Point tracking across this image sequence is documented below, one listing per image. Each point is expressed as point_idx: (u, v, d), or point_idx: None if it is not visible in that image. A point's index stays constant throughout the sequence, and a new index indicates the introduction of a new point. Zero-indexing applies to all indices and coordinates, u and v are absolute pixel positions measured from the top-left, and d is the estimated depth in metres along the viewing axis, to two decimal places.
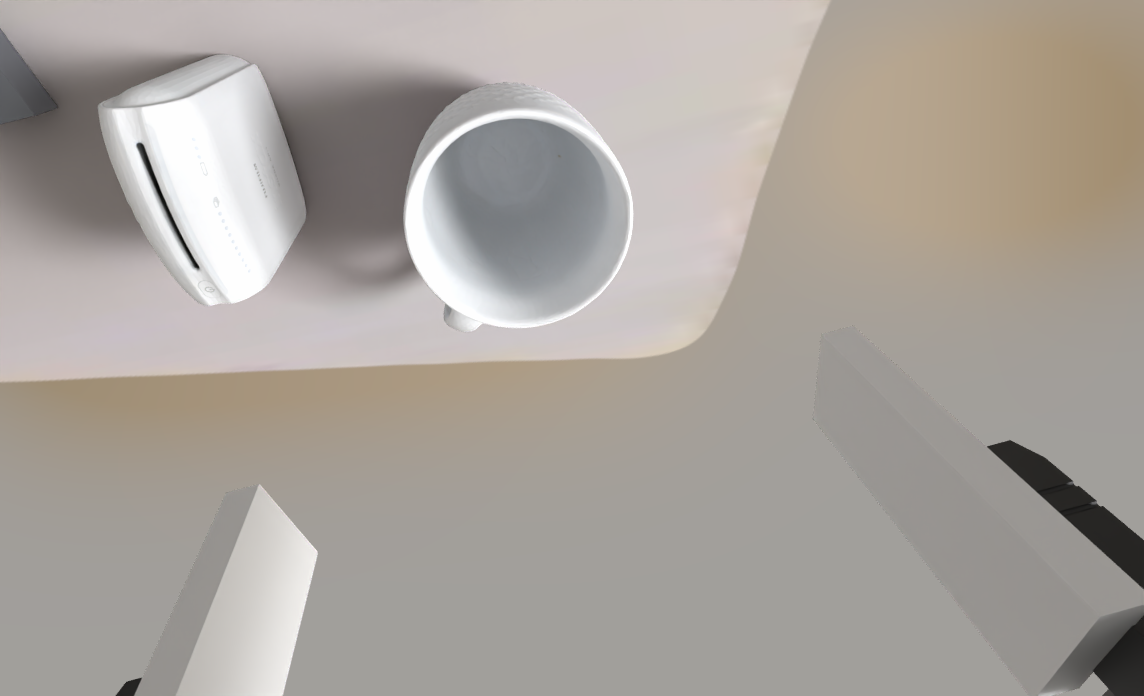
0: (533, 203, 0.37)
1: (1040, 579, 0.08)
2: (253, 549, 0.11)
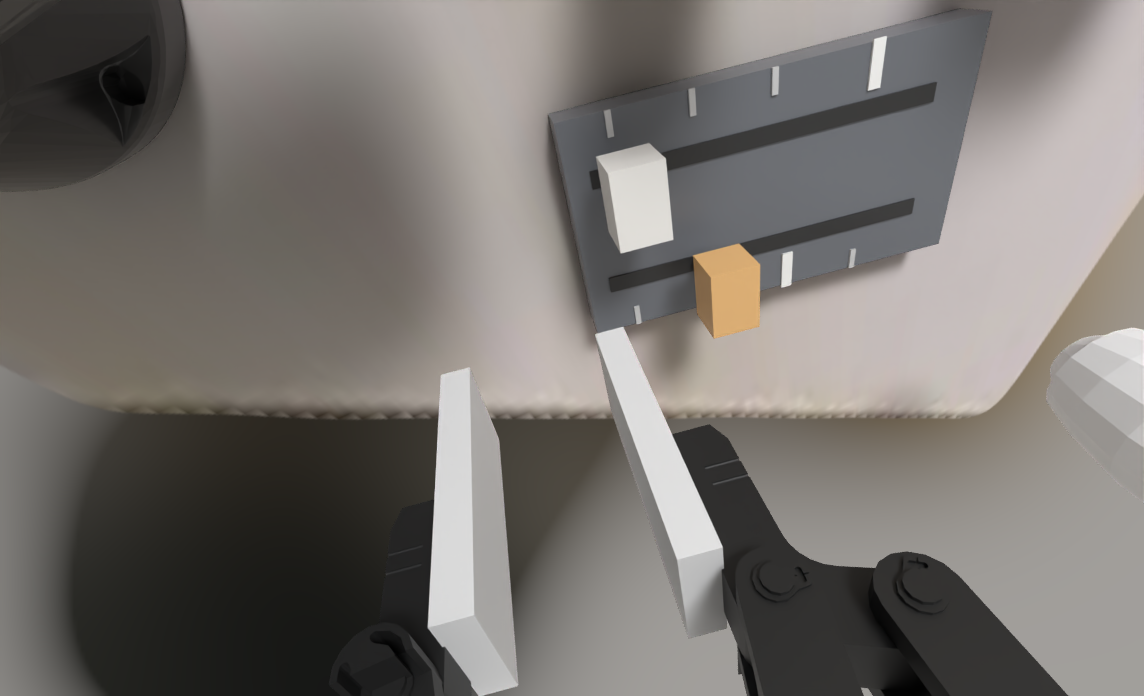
0: None
1: (665, 534, 0.09)
2: (476, 416, 0.13)
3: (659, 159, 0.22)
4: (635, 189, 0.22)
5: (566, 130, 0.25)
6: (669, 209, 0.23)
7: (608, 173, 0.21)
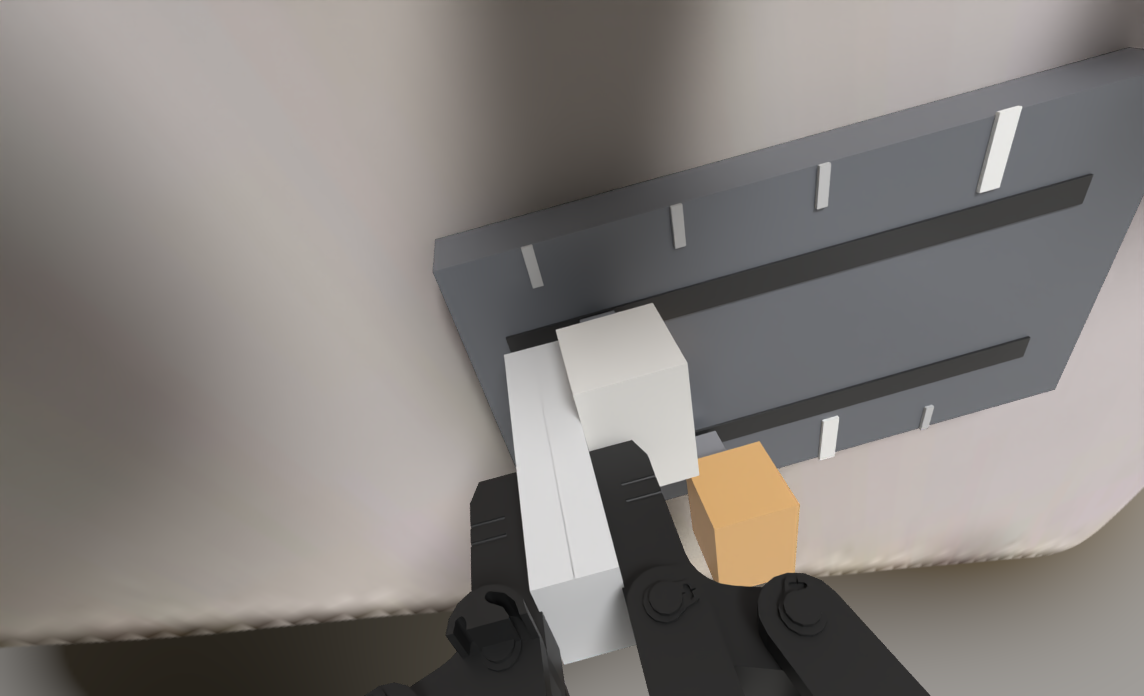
0: None
1: None
2: None
3: (674, 363, 0.11)
4: (627, 413, 0.11)
5: (457, 280, 0.14)
6: (693, 436, 0.12)
7: (573, 395, 0.11)
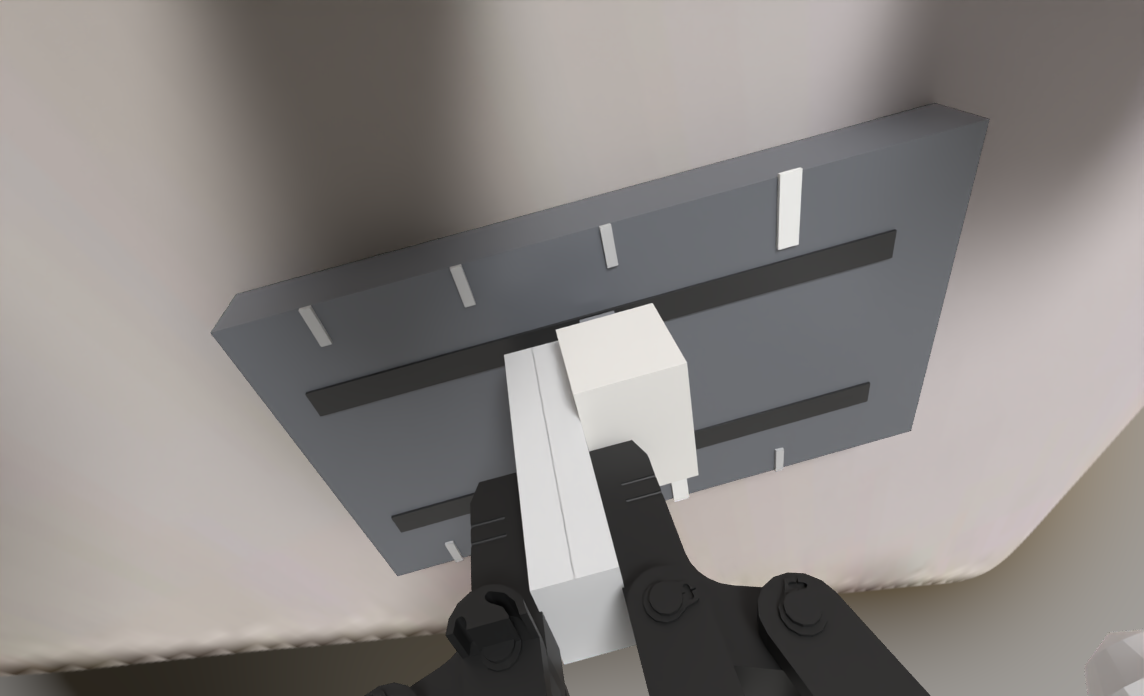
0: None
1: None
2: None
3: (674, 363, 0.11)
4: (627, 412, 0.11)
5: (239, 340, 0.14)
6: (693, 436, 0.12)
7: (573, 395, 0.11)
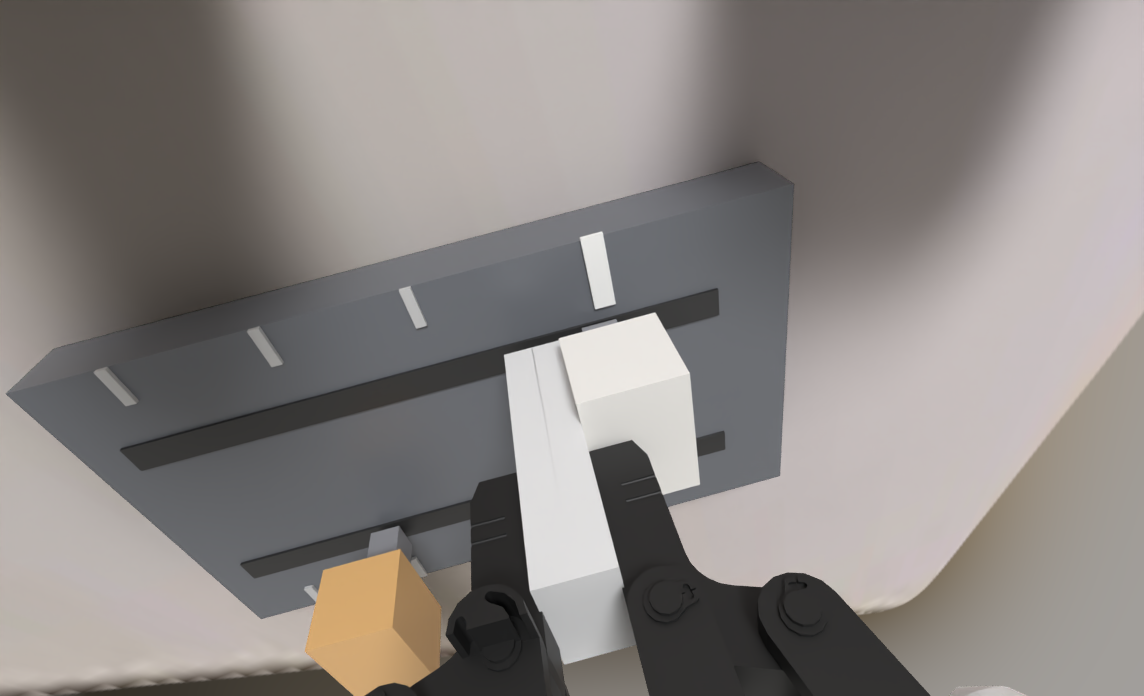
0: None
1: None
2: None
3: (677, 374, 0.11)
4: (629, 422, 0.11)
5: (38, 400, 0.14)
6: (694, 446, 0.12)
7: (576, 405, 0.11)
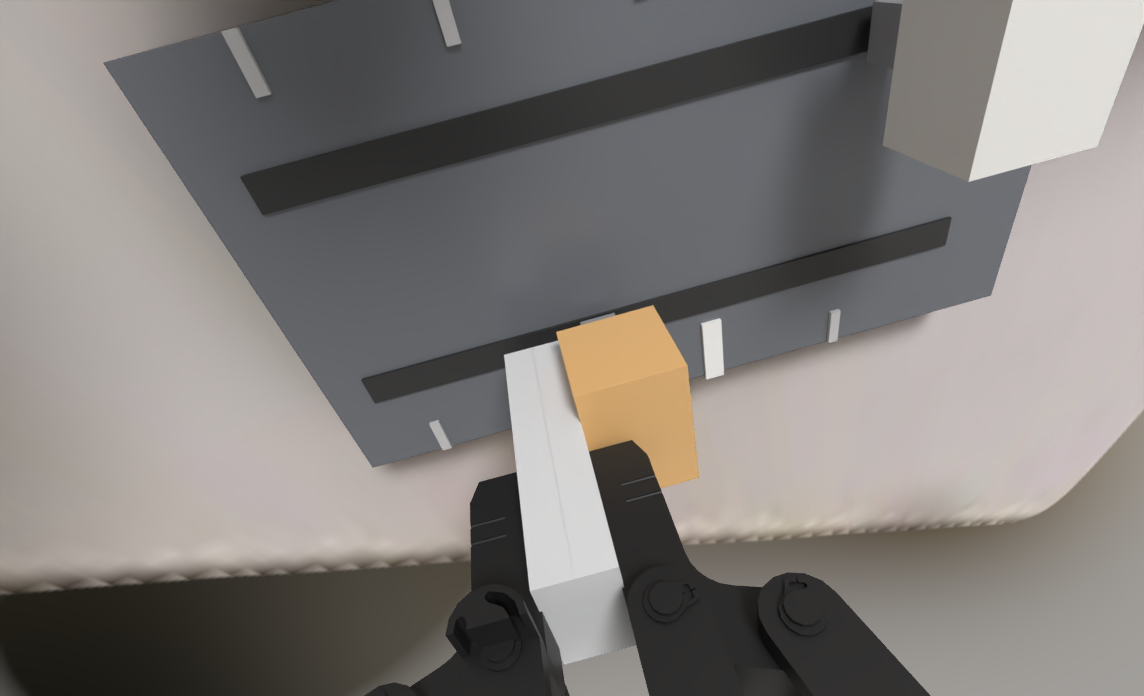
0: None
1: None
2: None
3: None
4: None
5: (144, 80, 0.10)
6: (1128, 59, 0.09)
7: None
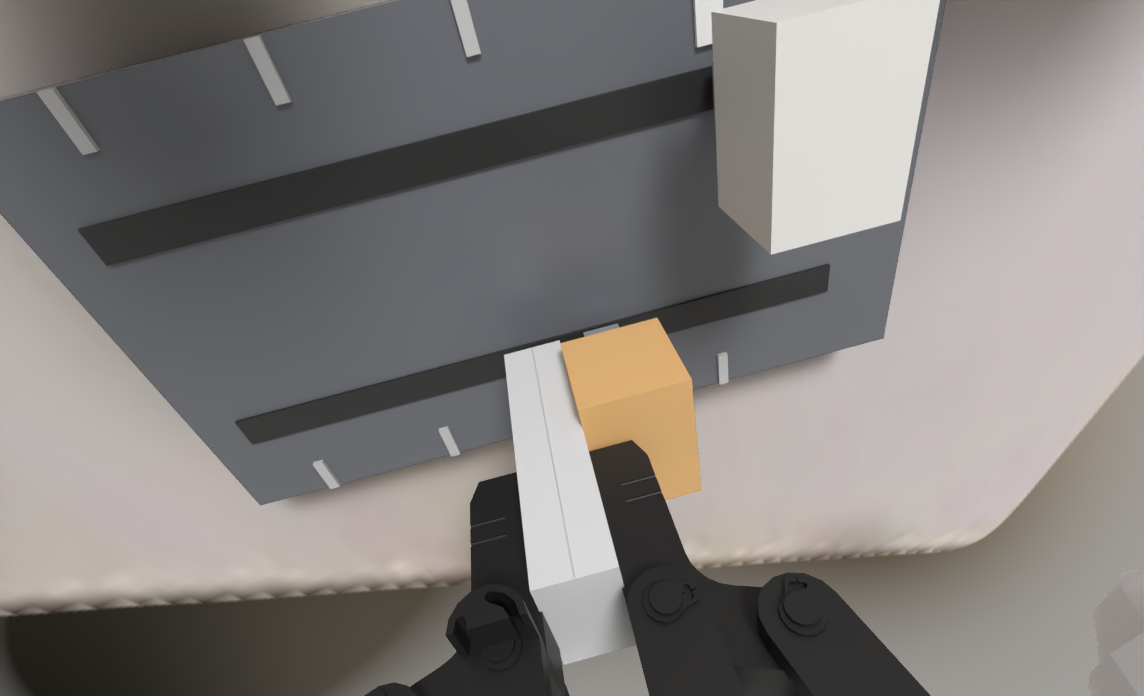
0: None
1: None
2: None
3: None
4: (839, 76, 0.08)
5: None
6: (913, 140, 0.09)
7: (777, 23, 0.07)
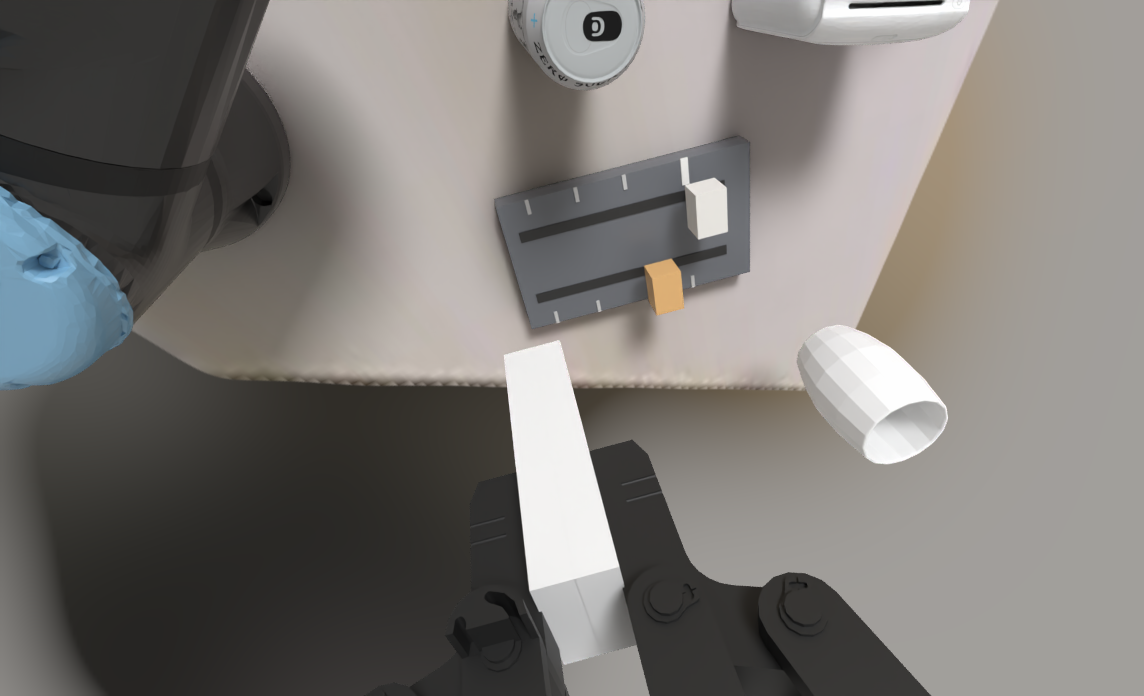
0: None
1: None
2: None
3: (723, 188, 0.40)
4: (709, 203, 0.40)
5: (503, 211, 0.43)
6: None
7: (695, 195, 0.40)
